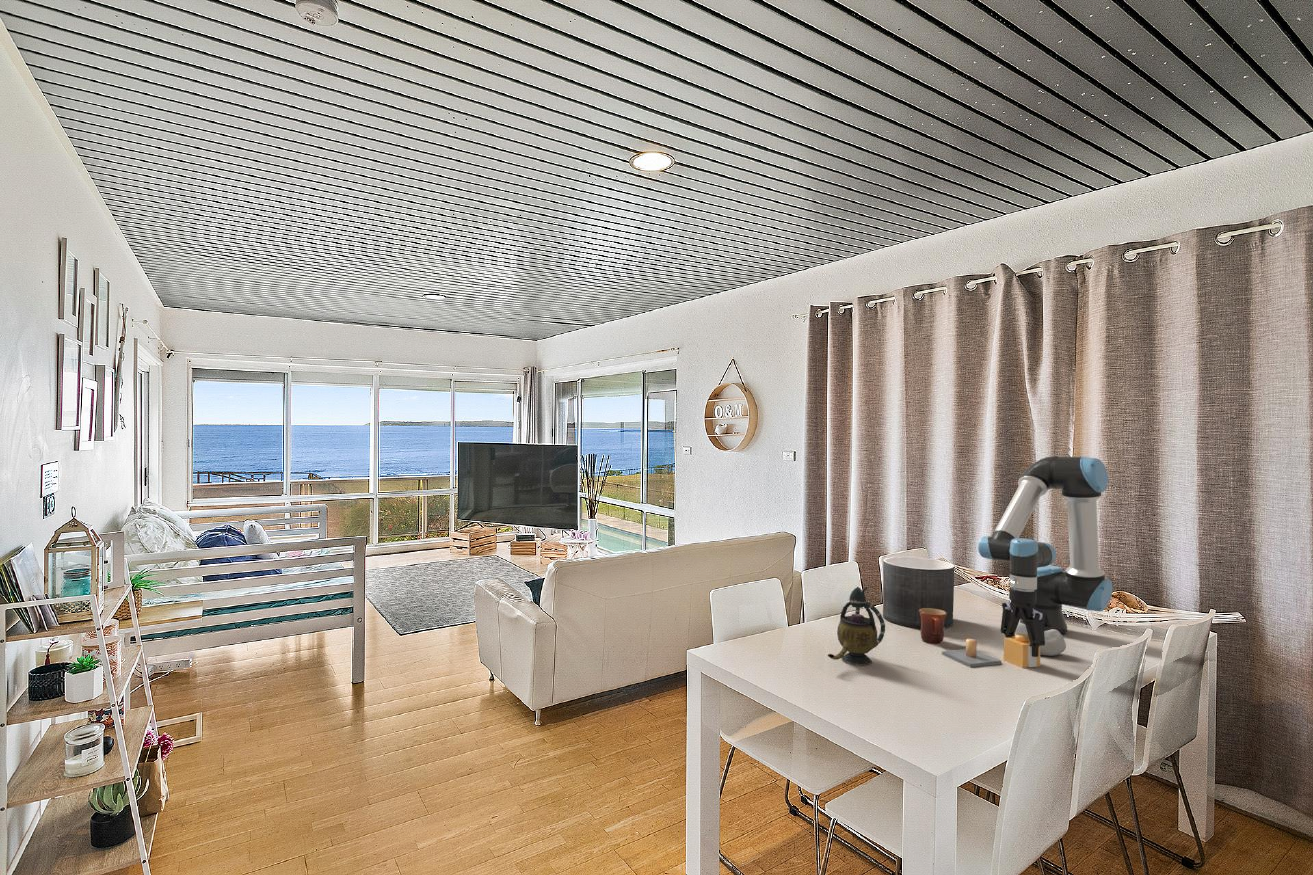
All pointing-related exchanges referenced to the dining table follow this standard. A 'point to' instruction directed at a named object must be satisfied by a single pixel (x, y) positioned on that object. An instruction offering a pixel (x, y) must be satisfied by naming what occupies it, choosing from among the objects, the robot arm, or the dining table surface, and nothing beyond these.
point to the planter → (916, 589)
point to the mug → (932, 625)
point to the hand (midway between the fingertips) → (1021, 662)
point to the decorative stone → (1047, 641)
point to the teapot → (858, 631)
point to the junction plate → (971, 660)
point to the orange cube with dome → (1018, 650)
